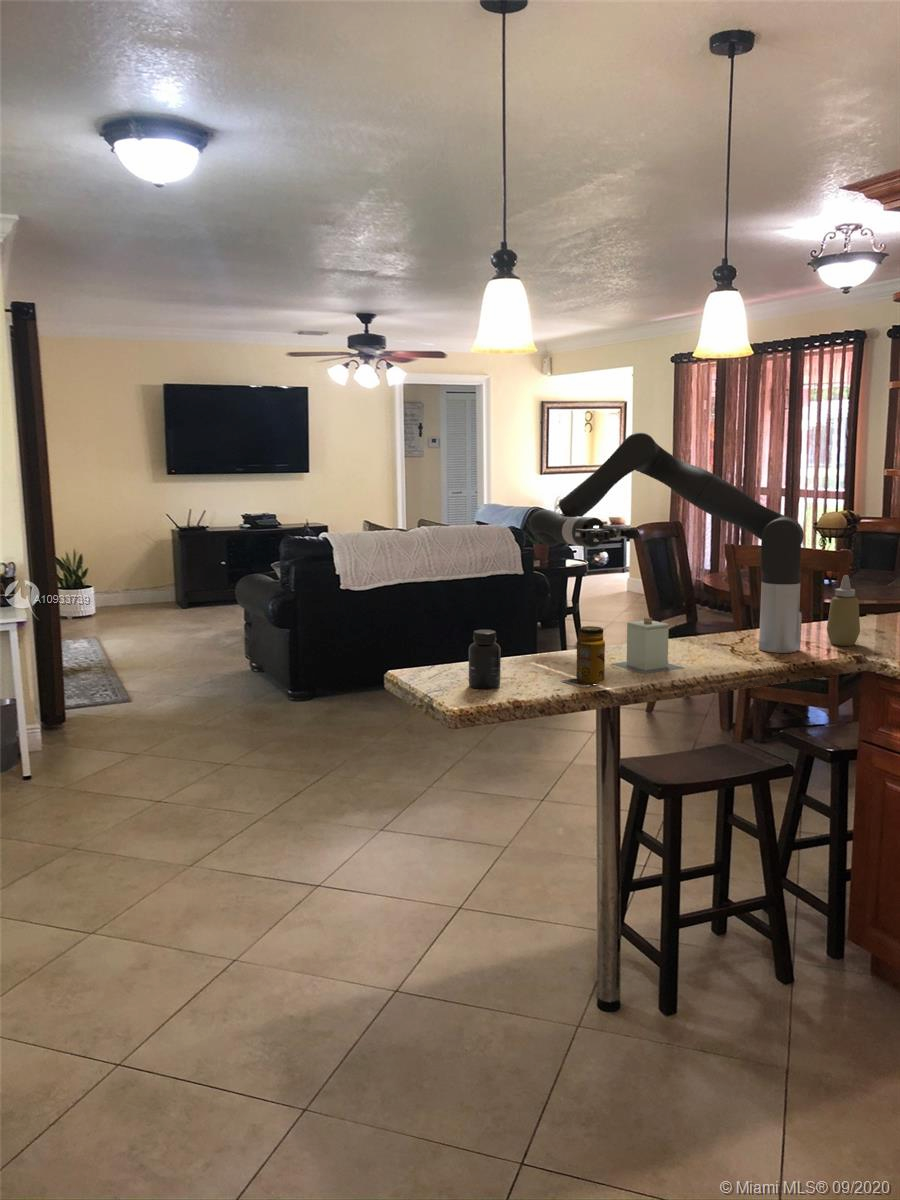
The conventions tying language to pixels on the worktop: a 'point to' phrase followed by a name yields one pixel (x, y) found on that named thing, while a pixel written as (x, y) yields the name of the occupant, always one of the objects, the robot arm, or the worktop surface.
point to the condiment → (589, 657)
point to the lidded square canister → (647, 644)
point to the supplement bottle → (484, 661)
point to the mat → (670, 667)
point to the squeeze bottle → (844, 616)
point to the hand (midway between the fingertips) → (623, 535)
